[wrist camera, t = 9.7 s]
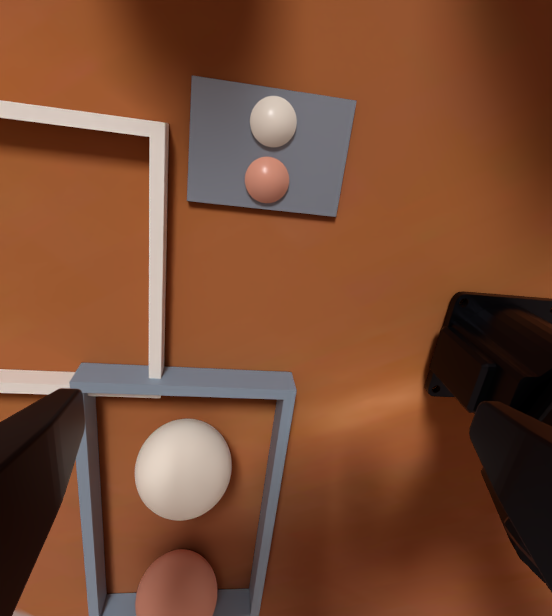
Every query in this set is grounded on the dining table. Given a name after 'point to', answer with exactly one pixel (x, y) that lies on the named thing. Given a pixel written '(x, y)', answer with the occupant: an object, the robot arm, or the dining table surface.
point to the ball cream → (183, 469)
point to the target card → (267, 147)
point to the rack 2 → (177, 382)
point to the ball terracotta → (177, 586)
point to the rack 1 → (157, 236)
